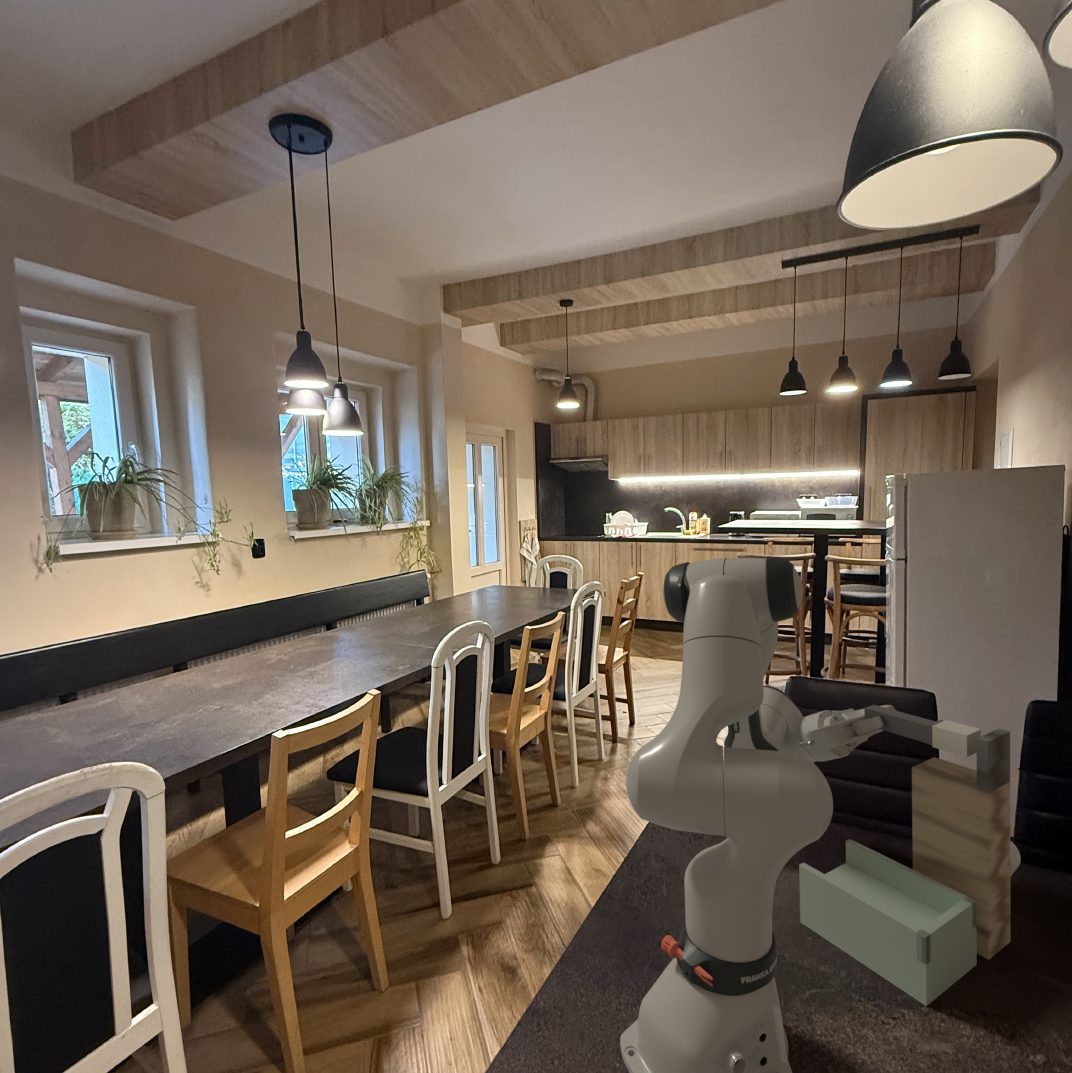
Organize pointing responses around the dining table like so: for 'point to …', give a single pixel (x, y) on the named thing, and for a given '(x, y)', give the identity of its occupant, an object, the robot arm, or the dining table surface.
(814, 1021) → the dining table surface
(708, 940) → the robot arm
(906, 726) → the grey square bar
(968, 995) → the dining table surface
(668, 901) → the dining table surface
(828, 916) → the bin
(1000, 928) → the stand
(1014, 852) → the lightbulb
